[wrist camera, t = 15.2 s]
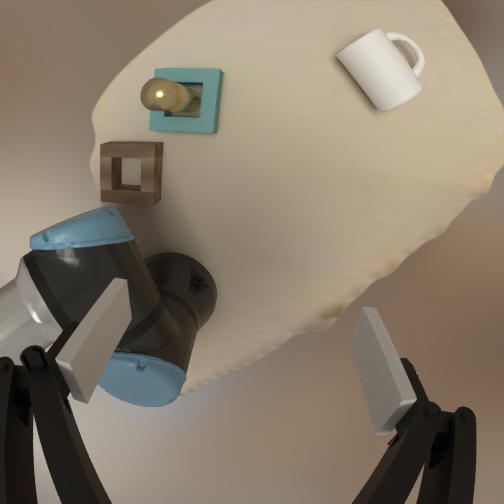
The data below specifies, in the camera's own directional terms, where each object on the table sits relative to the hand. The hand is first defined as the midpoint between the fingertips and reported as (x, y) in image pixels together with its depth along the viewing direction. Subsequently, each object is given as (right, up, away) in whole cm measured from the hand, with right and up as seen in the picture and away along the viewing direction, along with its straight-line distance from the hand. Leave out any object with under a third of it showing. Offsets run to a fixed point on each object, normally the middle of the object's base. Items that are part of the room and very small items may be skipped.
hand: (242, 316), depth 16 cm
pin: (-9, +25, +22) cm, 35 cm away
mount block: (-18, +16, +27) cm, 36 cm away
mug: (+19, +31, +19) cm, 41 cm away
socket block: (-9, +25, +22) cm, 35 cm away
